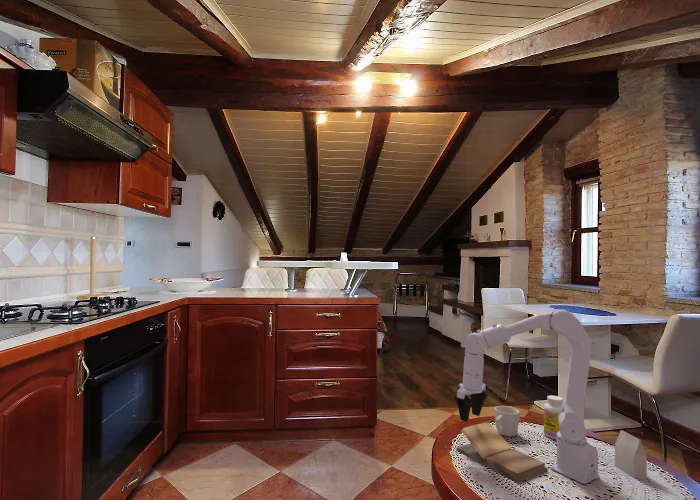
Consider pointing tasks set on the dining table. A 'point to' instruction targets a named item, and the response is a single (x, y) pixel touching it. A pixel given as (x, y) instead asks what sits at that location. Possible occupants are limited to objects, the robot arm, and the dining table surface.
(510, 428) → the cup
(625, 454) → the beige gabled carton
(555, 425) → the supplement bottle
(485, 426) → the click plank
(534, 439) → the dining table surface
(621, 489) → the dining table surface
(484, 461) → the floor board
